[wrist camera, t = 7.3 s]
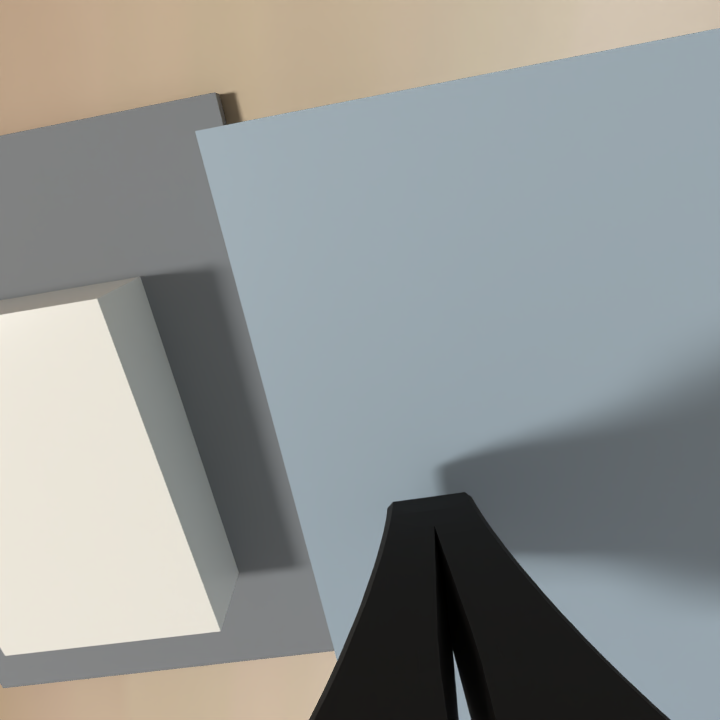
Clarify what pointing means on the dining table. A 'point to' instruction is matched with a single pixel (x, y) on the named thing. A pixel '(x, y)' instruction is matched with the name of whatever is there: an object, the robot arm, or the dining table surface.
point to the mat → (184, 353)
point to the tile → (100, 480)
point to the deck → (504, 333)
